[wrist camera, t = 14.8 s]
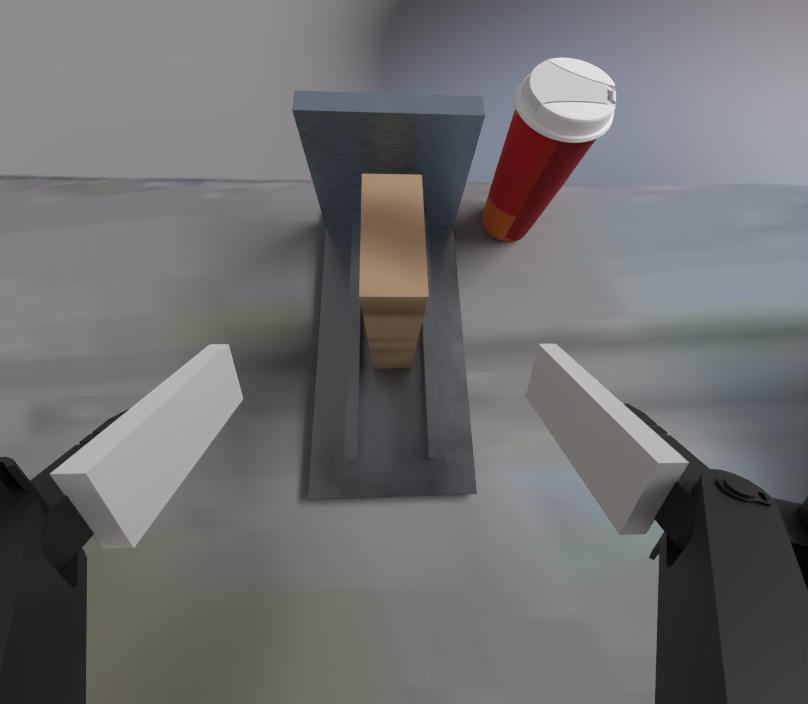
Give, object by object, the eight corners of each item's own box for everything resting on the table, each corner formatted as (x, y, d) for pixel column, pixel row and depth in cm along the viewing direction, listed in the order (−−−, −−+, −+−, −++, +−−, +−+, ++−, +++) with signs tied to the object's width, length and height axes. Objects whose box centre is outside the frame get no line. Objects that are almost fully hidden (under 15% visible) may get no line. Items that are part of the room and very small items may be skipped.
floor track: (473, 492, 27) (546, 528, 14) (310, 497, 26) (238, 540, 14) (449, 213, 36) (480, 87, 23) (329, 211, 35) (295, 81, 23)
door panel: (410, 368, 29) (428, 296, 15) (373, 368, 29) (359, 296, 15) (408, 292, 31) (421, 174, 18) (374, 292, 31) (361, 173, 18)
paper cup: (540, 203, 37) (625, 64, 23) (534, 256, 34) (625, 134, 21) (476, 190, 37) (525, 44, 24) (466, 241, 35) (514, 110, 21)
